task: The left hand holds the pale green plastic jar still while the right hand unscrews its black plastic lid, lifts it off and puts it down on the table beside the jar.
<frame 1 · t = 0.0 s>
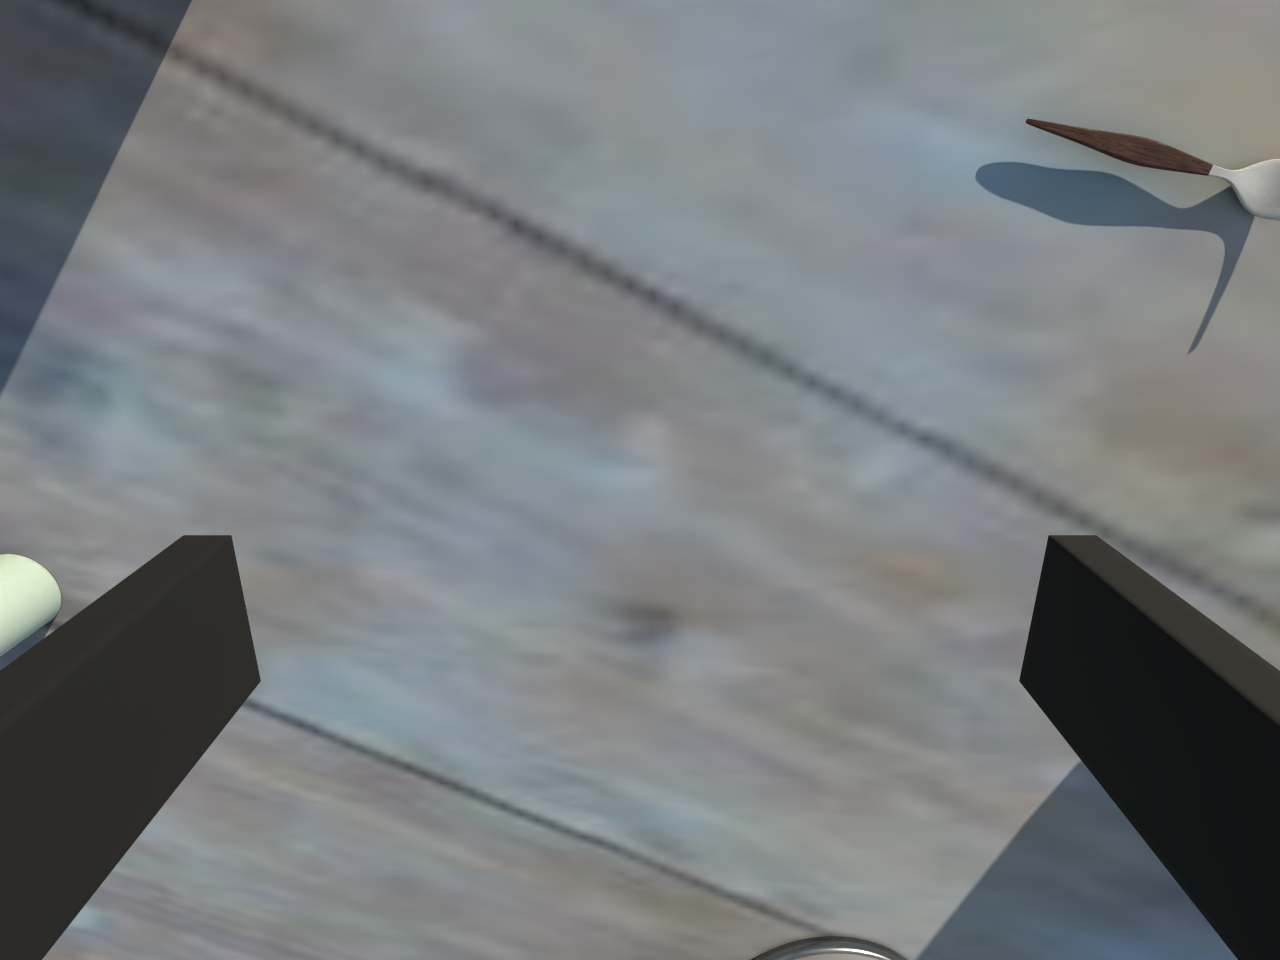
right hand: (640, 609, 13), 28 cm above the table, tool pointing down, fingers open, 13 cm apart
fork: (1177, 164, 36), on the table
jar: (19, 590, 44), on the table
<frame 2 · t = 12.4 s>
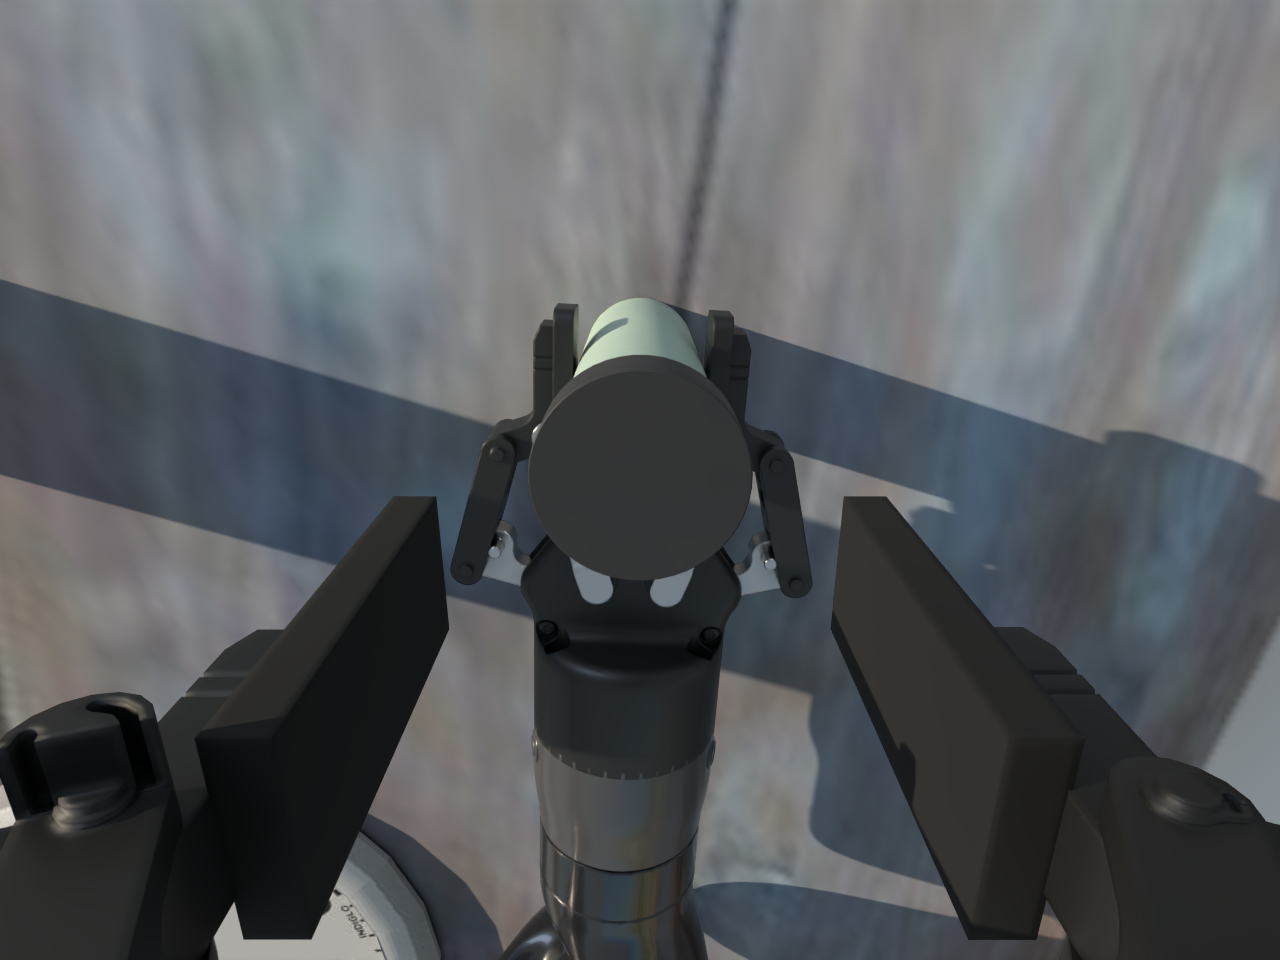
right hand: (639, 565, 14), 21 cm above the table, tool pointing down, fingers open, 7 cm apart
left hand: (644, 312, 26), fingers closed on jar, 4 cm apart
wall clock: (193, 953, 46), on the table
lid: (640, 475, 19), point 16 cm above the table, screwed on, not yet turned
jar: (640, 351, 34), on the table, touching left hand
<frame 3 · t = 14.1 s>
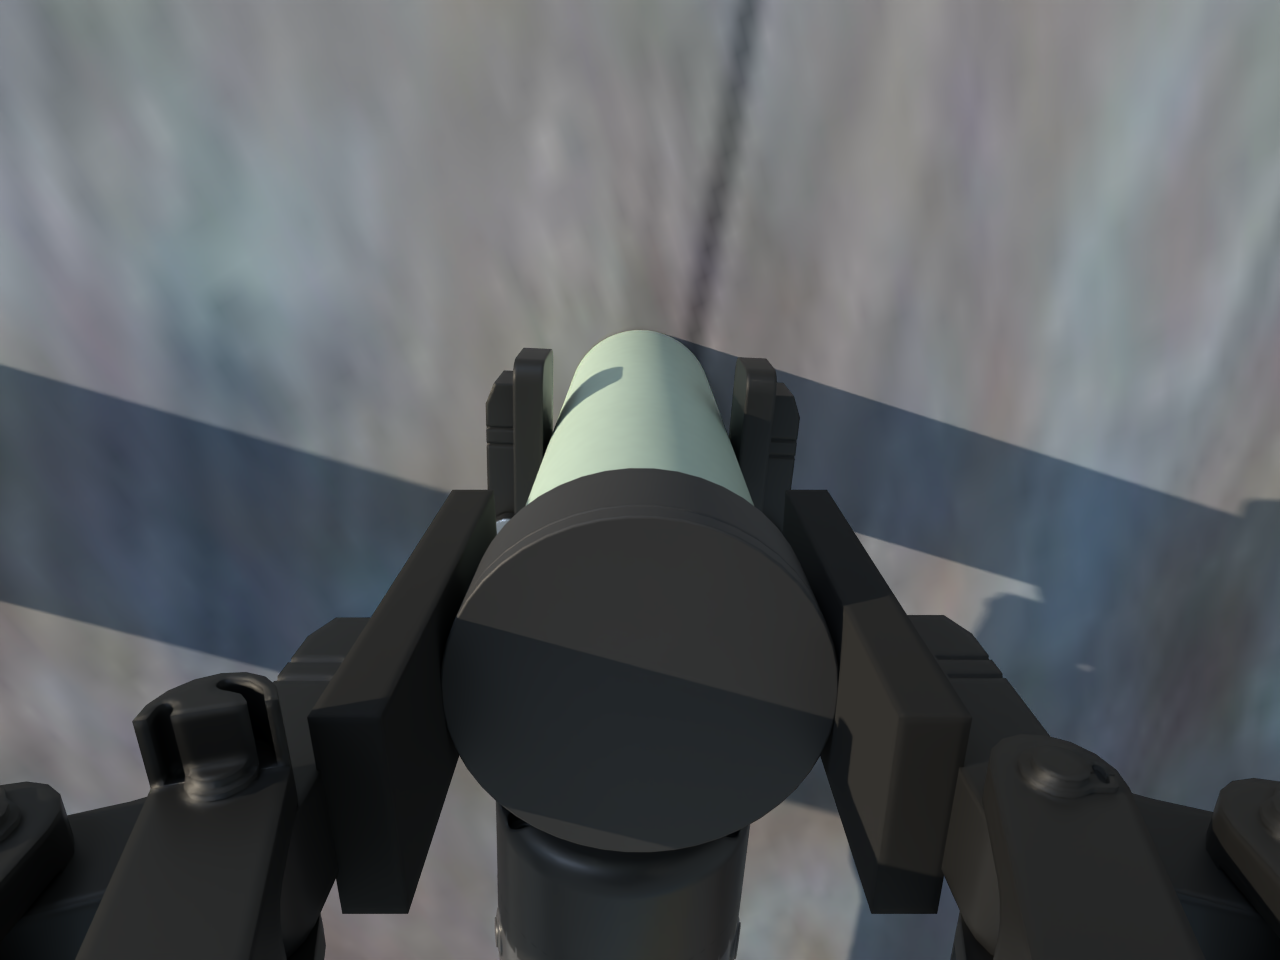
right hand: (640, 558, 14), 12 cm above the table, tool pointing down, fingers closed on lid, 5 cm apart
lid: (639, 684, 11), point 16 cm above the table, screwed on, not yet turned, touching right hand
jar: (640, 399, 26), on the table, touching left hand
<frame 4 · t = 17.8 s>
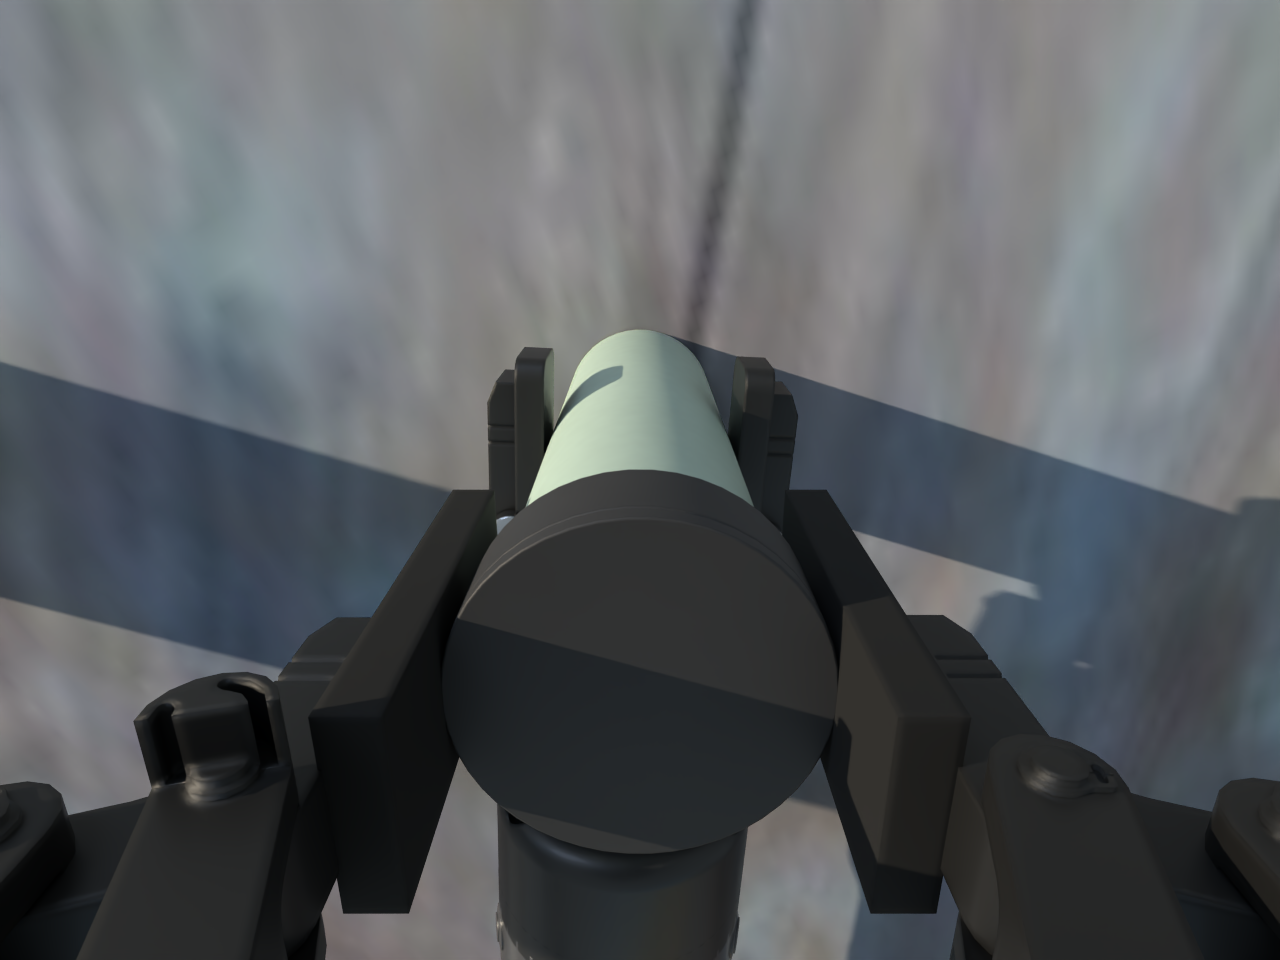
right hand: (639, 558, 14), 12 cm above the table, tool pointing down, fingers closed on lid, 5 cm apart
lid: (639, 685, 11), point 16 cm above the table, turned 120° so far, risen 0.2 cm, still on its thread, touching right hand
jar: (639, 398, 26), on the table, touching left hand
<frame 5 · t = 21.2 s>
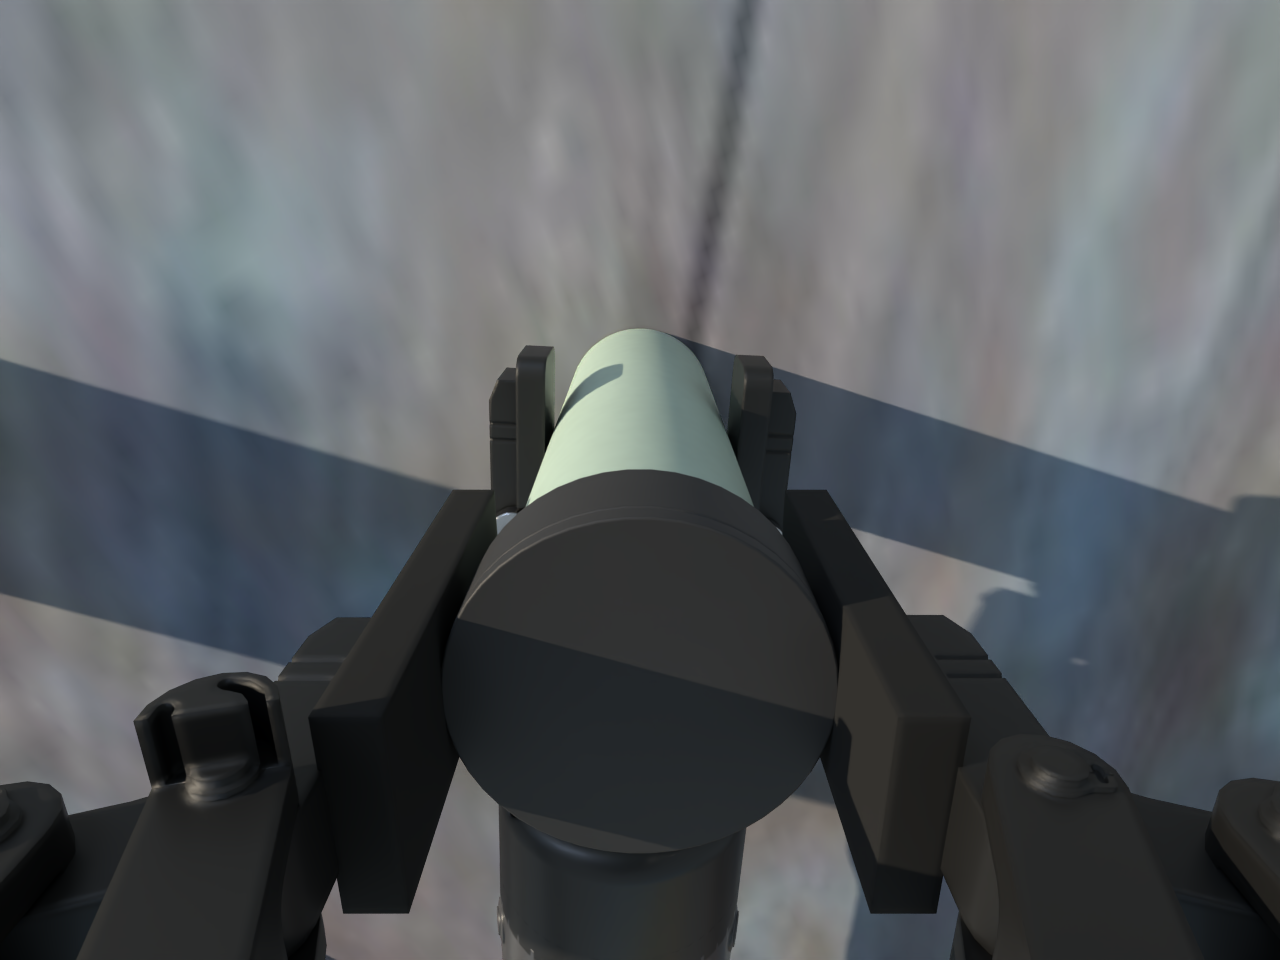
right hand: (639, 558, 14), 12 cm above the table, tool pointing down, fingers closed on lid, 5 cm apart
lid: (639, 685, 11), point 16 cm above the table, turned 241° so far, risen 0.4 cm, still on its thread, touching right hand
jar: (639, 397, 26), on the table, touching left hand
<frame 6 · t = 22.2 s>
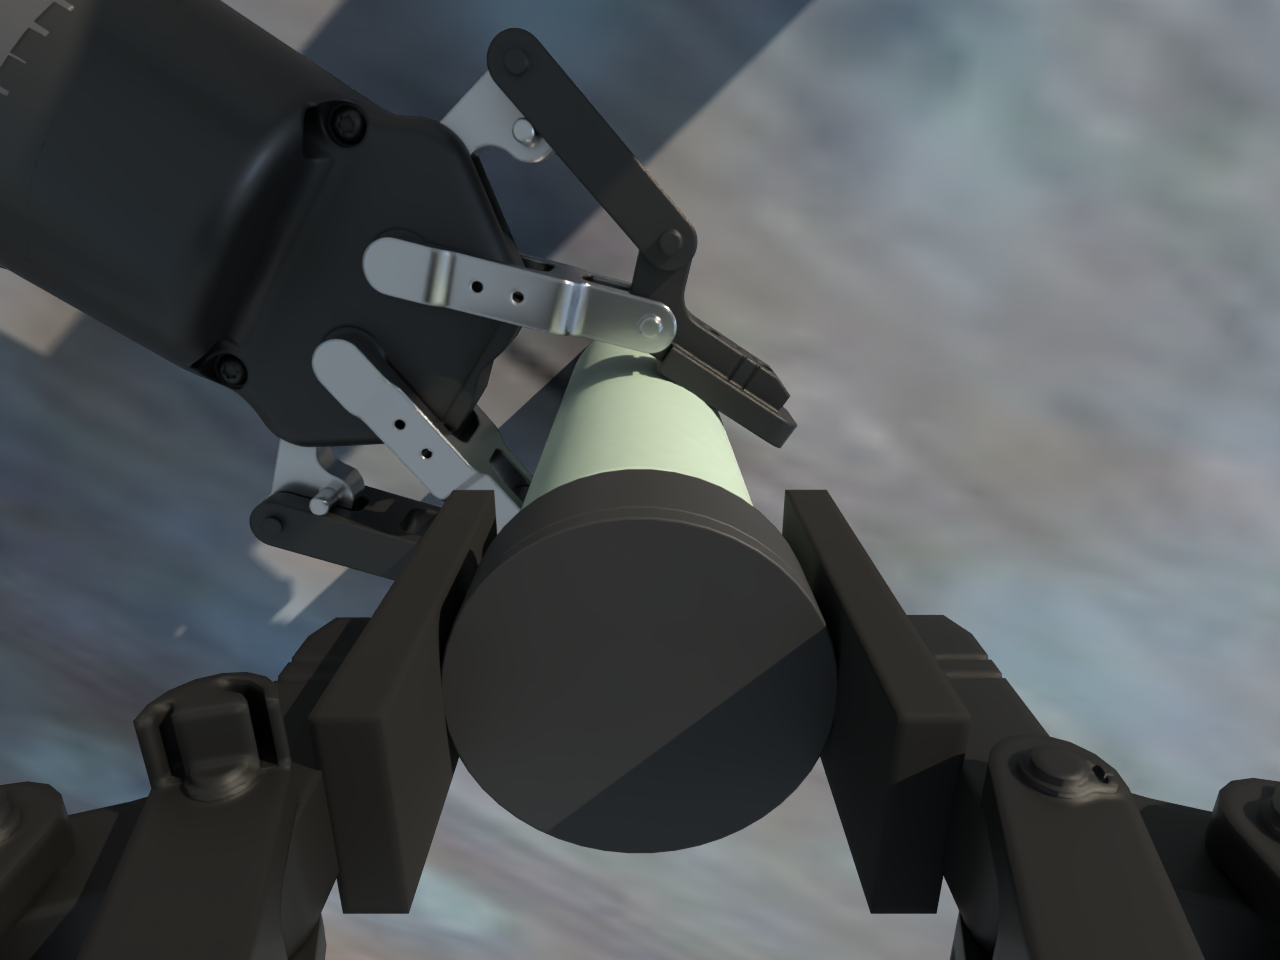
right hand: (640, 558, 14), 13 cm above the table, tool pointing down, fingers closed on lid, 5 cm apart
left hand: (721, 508, 20), fingers closed on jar, 4 cm apart
lid: (639, 685, 11), point 17 cm above the table, off its thread, touching right hand
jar: (638, 392, 26), on the table, touching left hand
when the right hand's fingers open (0 cm above the table, at t = 27.7 s): lid drops 3 cm, point 1 cm above the table.
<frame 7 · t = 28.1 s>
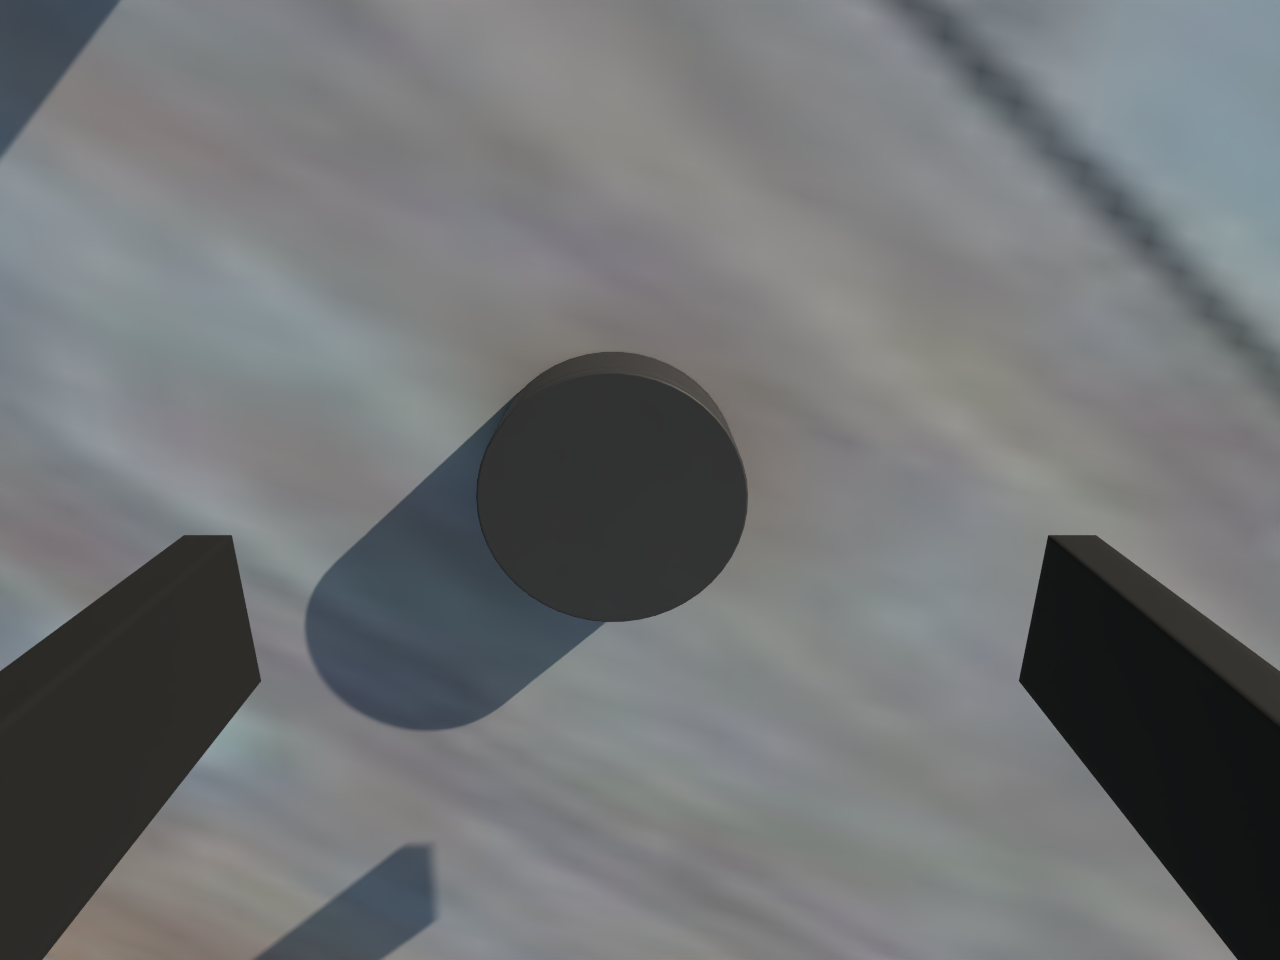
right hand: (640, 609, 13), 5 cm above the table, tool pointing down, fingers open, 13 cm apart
lid: (612, 498, 15), point 1 cm above the table, off its thread
when the left hand's fingers open (7 cm above the table, at t = 28.4 s): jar stays where it is, on the table.
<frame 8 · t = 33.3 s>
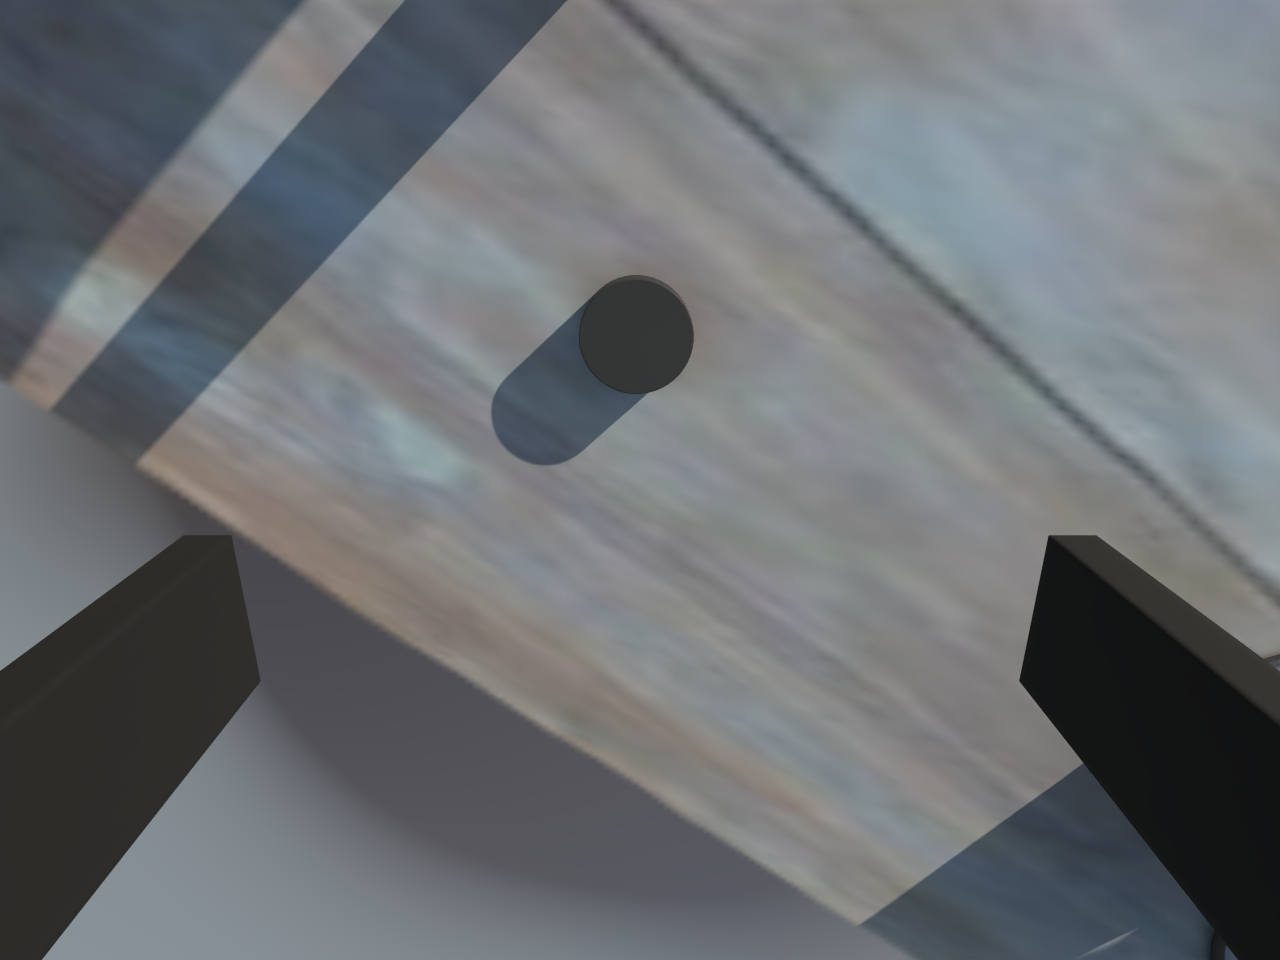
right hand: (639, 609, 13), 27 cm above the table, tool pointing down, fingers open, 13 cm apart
lid: (636, 336, 36), point 1 cm above the table, off its thread
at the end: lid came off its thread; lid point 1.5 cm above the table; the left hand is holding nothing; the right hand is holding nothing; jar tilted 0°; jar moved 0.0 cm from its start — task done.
